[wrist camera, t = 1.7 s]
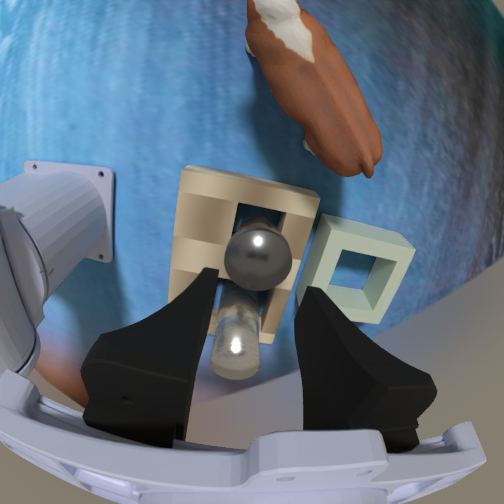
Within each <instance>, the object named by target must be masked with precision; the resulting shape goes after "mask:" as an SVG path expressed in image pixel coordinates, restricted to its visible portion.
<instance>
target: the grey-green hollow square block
mask: <svg viewBox="0 0 504 504" xmlns="http://www.w3.org/2000/svg"><path fill="white" fill-rule="evenodd" d="M342 249H344V250H349V251H353V252H358V253H362V254H367V255H371V256H376V260H375V262H374V264H373V267H372V269H371V271H370V274H369V276H368V278H367V280H366V282H365V285H364V287H363V289H362V290H360V289H354V288H348V287H342V286H336V285H330V284H329V282H330V279H331V277H332V274H333V272H334V269H335V267H336V264H337V262H338V259H339V256H340V254H341V251H342ZM415 251H416V250H415V249H414V248H413V246H412V245H411V244H410V243H409V242H408V241H407V240H406V239H405V238H404V237H403V236H402V235H401V234H400V233H397V232H393V231H390V230H386V229H383V228H379V227H375V226H371V225H368V224H364V223H360V222H356V221H352V220H348V219H344V218H340V217H336V216H332V215H328V214H324V213H322V214H321V217H320V220H319V223H318V226H317V230H316V233H315V236H314V239H313V242H312V245H311V248H310V251H309V254H308V257H307V260H306V263H305V266H304V269H303V272H302V274H301V277H300V280H299V283H298V286H297V289H296V295H297V300H298V305H299V306H300V304H301V301H302V299H303V296H304V293H305V291H306V288H307V286H313V287H319V288H321V289H322V290H323V291H324V292H325V293H326V294H327V295H328V296H329V298H330V299H331V300H332V301H333V302H334V303H335V304H336V305H337V307H338V308H339V309H340V310H341V311H342V312H343V313H344V314H345V315H346V316H347V318H348V319H349V320H350V321H357V322H365V323H374V324H379V323H380V321H381V319H382V317H383V315H384V314H385V312H386V310H387V308H388V306H389V304H390V303H391V301H392V299H393V297H394V295H395V293H396V291H397V289H398V287H399V285H400V283H401V281H402V279H403V277H404V275H405V273H406V271H407V269H408V266H409V264H410V262H411V260H412V258H413V256H414V253H415Z"/></svg>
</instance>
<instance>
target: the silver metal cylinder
mask: <svg viewBox="0 0 504 504" xmlns="http://www.w3.org/2000/svg"><path fill="white" fill-rule="evenodd" d="M259 366H260V363H259V311H258V291H252V290H247V289H245V288H242V287H240V286H238V285H237V284H235V283H234V282H233V281H232V280H230V279H228V280H227V281H225V283H224V284H223V286H222V291H221V297H220V303H219V310H218V316H217V323H216V329H215V336H214V342H213V349H212V356H211V368H212V369H213V371H214V372H215V373H216V374H218V375H219V376H221V377H224V378H227V379H231V380H242V379H246V378H249V377H251V376H253V375H255V374H256V373H257V371H258V370H259Z"/></svg>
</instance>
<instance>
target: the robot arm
mask: <svg viewBox="0 0 504 504" xmlns="http://www.w3.org/2000/svg"><path fill="white" fill-rule="evenodd" d="M35 165H36V166H37V169H36V167H35ZM101 171H102V172H103V173H104V177H102V176H101V174H100V173H101ZM113 190H114V171H113V170H112V169H111V168H107V167H98V166H89V165H80V164H71V163H60V162H49V161H36V160H28V161H26V162H25V163H24V173H22V174H20V175H18V176H16V177H14V178H11V179H9V180H7V181H5V182H3V183H1V184H0V441H1V442H2V443H3V444H4V445H5V446H6V447H7V448H8V449H10V450H11V451H13V452H14V453H16V454H18V455H19V456H21V457H23V458H24V459H26V460H28V461H30V462H31V463H33V464H35V465H36V466H38V467H40V468H42V469H44V470H46V471H47V472H49V473H51V474H53V475H55V476H57V477H59V478H61V479H63V480H65V481H67V482H69V483H71V484H73V485H75V486H77V487H80V488H82V489H84V490H86V491H89V492H91V493H94V494H96V495H98V496H101V497H103V498H106V499H109V500H111V501H114V502H117V503H120V504H403V503H406V502H409V501H412V500H414V499H417V498H420V497H422V496H425V495H428V494H430V493H433V492H435V491H438V490H440V489H443V488H445V487H447V486H450V485H452V484H454V483H455V482H457V481H458V480H460V479H461V478H463V477H464V476H466V475H467V474H469V473H471V472H472V471H474V470H475V469H476V468H478V467H479V466H481V465H482V464H483V463H485V462H486V457H485V455H484V452H483V449H482V447H481V444H480V442H479V440H478V437H477V435H476V433H475V430H474V428H473V426H472V424H471V422H470V421H467V422H463V423H460V424H456V425H454V426H452V427H450V428H449V429H448V430H447V431H446V432H445V433H443V435H441V436H437V437H433V438H429V439H424V440H419V439H418V436H417V433H416V430H415V429H416V428H417V427H418V425H419V424H418V422H417V418H418V417H419V416H420V415H421V414H422V413H423V412H424V411H425V410H426V409H427V408H428V407H429V406H430V405H431V404H432V402H433V401H434V399H435V397H436V395H437V389H436V386H435V384H434V382H433V380H432V378H431V376H430V374H428V373H426V372H423V371H421V370H419V369H417V368H415V367H412V366H410V365H408V364H406V363H405V362H403V361H401V360H400V359H398V358H396V357H394V356H393V355H391V354H390V353H388V352H387V351H385V350H384V349H383V348H381V347H380V346H379V345H377V344H376V343H374V342H373V341H372V340H371V339H370V338H369V337H367V336H366V335H365V334H364V333H363V332H362V331H361V330H359V329H358V328H357V327H356V326H355V325H354V324H353V323H352V322H351V321H350V320H349V319H348V318H347V316H346V315H345V314H344V313H343V312H342V311H341V310H340V309H339V308H338V307H337V305H336V304H335V303H334V302H333V301H332V300H331V299H330V298H329V296H328V295H327V294H326V293H325V292H324V291H323V290H322V289H321V288H319V287H313V286H307V288H306V291H305V293H304V296H303V299H302V301H301V304H300V306H299V309H298V312H297V314H296V317H295V319H294V334H295V344H296V350H297V355H298V361H299V367H300V372H301V377H302V386H303V417H304V418H303V430H287V431H286V430H285V431H275V432H272V433H268V434H264V435H261V436H260V437H259V438H257V439H256V440H255V441H254V442H252V443H251V444H250V445H249V447H248V449H247V450H243V449H233V448H225V447H217V446H209V445H203V444H197V443H191V442H186V441H185V438H186V432H187V425H188V419H189V412H190V406H191V400H192V394H193V388H194V382H195V376H196V371H197V367H198V363H199V360H200V356H201V353H202V349H203V346H204V343H205V339H206V336H207V333H208V329H209V326H210V320H211V315H212V309H213V303H214V298H215V292H216V286H217V281H218V275H219V269H214V268H209V267H205V268H203V269H202V271H201V272H200V273H199V275H198V276H197V277H196V278H195V279H194V281H193V282H192V283H191V284H190V285H189V286H188V287H187V288H186V289H185V290H184V291H183V292H182V293H180V294H179V295H178V296H177V297H176V298H175V299H174V300H172V301H171V302H170V303H169V304H167V305H166V306H164V307H163V308H161V309H160V310H159V311H157V312H155V313H154V314H152V315H150V316H149V317H147V318H145V319H143V320H141V321H139V322H137V323H134V324H132V325H129V326H127V327H124V328H121V329H118V330H115V331H111V332H108V333H104V334H101V336H100V337H99V338H98V340H97V341H96V342H95V343H94V345H93V346H92V348H91V349H90V351H89V353H88V355H87V357H86V359H85V360H84V362H83V364H82V367H81V377H82V380H83V382H84V385H85V388H86V391H87V393H88V396H89V401H88V403H87V406H86V408H85V411H84V413H82V412H79V411H77V410H74V409H72V408H69V407H67V406H64V405H62V404H60V403H57V402H55V401H53V400H50V399H48V398H46V397H44V396H42V395H40V393H39V391H38V389H37V387H36V385H35V384H34V383H33V382H32V381H31V380H29V379H27V378H26V377H27V376H28V375H29V374H30V373H31V371H32V370H33V368H34V367H35V365H36V363H37V361H38V358H39V355H40V348H41V344H40V338H39V335H38V332H37V330H36V328H37V327H38V326H39V324H40V323H41V322H42V320H43V319H44V318H45V316H44V313H43V305H44V303H45V302H46V301H47V300H48V299H49V297H50V296H51V295H52V294H53V293H54V291H55V290H56V289H57V288H58V287H59V286H60V284H61V283H62V282H63V281H64V280H65V279H66V278H67V276H68V275H69V274H70V273H71V272H72V271H73V270H74V269H75V268H76V266H77V265H78V264H79V263H80V262H81V261H82V260H83V259H84V258H88V259H92V260H96V261H100V262H105V263H110V262H111V260H112V259H113V239H112V224H113ZM100 254H102V255H103V257H101V255H100Z"/></svg>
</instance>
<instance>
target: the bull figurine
mask: <svg viewBox="0 0 504 504" xmlns="http://www.w3.org/2000/svg"><path fill="white" fill-rule="evenodd" d="M247 19H248V25H247V27H246V31H245V35H246V40H247V43H246V45H245V49H246V51H247V52H248V53H250V54H252V56H253V57H256V59H257V60H258V62H259V65H260V67H261V70H262V72H263V74H264V77H265V79H266V81H267V83H268V84H269V86H270V89H271V91H272V94H273V96H274V98H275V100H276V102H277V103H278V105H279V106H280V108H281V109H282V110H283V111H284V112H285V113H286V114H287V115H288V116H289V117H290V118H292V119H293V120H294V121H296V122H297V123H299V124H300V125H301V126H303V128H304V130H305V138H304V139H303V146H304V147H305V149H306V150H307V151H310V152H311V153H312V155H314V156H315V155H316V156H317V157H318V158H319V160H320V161H321V162H322V163H323V164H324V165H326V166H327V167H328V168H330V169H331V170H332V171H334V172H335V173H337V174H338V175H340V176H344V177H350V176H356V175H358V174H360V173H361V172H363V174H364V175H365V177H366V178H371V177H372V176H373V173H374V166H375V165H376V164H377V163H378V162H379V161H380V160H381V157H382V143H381V134H380V131H379V129H378V126H377V125H376V123H375V121H374V119H373V116H372V114H371V112H370V111H369V109H368V107H367V105H366V102H365V99H364V97H363V95H362V92H361V90H360V88H359V86H358V84H357V81H356V79H355V77H354V75H353V73H352V71H351V70H350V68H349V67H348V65H347V64H346V62H345V60H344V59H343V57H342V55H341V54H340V53H339V51H338V50H337V48H336V47H335V45H334V43H333V42H332V40H331V38H330V37H329V35H328V34H327V32H326V30H325V28H324V27H323V26H322V25H321V24H320V23H319V22H318V21H317V20H316V19H314V18H313V17H312V16H311V15H310V14H309V13H308V12H307V11H305V10H304V9H302V8H301V7H300V5H299V3H298V1H297V0H247Z"/></svg>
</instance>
